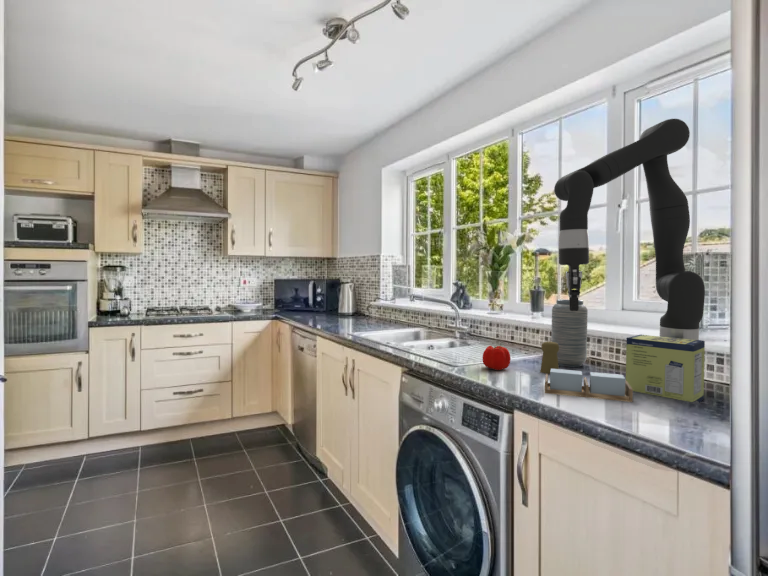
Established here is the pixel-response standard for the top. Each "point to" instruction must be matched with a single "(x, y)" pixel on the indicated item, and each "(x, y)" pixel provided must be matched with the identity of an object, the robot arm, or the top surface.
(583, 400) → the top surface
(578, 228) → the robot arm
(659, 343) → the protein box
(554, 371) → the grey blue block
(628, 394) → the rack
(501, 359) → the tomato
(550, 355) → the cork
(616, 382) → the pale blue sponge block
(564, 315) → the vase
